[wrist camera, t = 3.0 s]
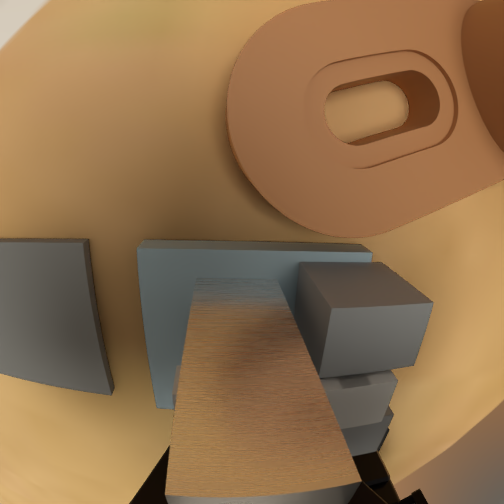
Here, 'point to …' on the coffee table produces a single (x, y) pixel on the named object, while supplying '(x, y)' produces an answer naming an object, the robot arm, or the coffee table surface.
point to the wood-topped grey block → (252, 406)
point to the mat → (51, 315)
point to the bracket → (383, 144)
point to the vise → (296, 318)
